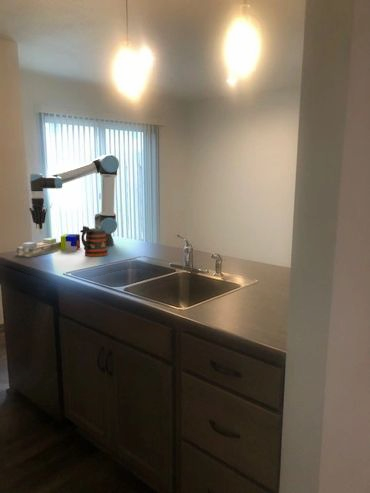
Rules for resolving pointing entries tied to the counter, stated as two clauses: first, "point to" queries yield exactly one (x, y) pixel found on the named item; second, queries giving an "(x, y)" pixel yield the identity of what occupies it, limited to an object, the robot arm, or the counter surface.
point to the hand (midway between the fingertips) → (39, 233)
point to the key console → (38, 249)
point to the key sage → (49, 240)
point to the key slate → (29, 245)
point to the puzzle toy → (70, 242)
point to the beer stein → (94, 242)
